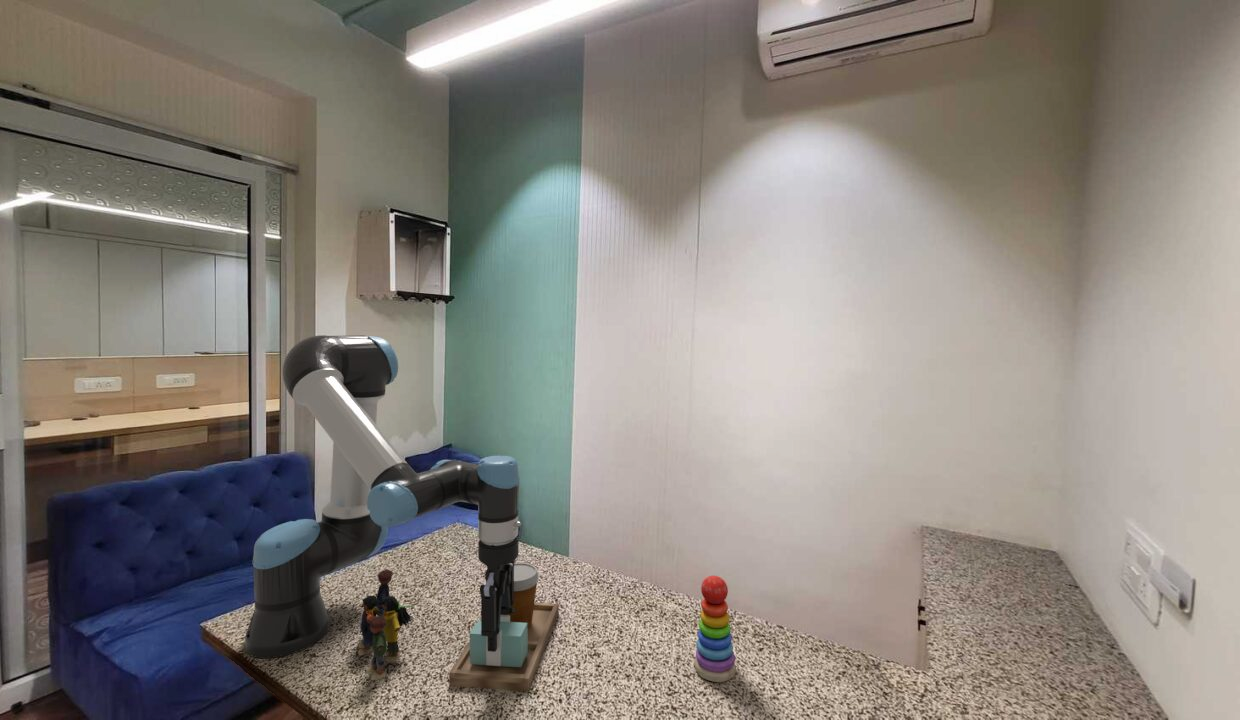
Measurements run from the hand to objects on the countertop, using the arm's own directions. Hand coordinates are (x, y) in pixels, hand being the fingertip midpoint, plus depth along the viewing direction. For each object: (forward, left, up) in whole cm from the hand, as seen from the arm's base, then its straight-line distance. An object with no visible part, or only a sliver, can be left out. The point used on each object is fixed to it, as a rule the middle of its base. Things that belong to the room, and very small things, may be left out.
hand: (498, 655), depth 97 cm
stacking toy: (+42, +4, -3) cm, 42 cm away
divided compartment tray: (0, +7, -3) cm, 8 cm away
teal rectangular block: (0, 0, -1) cm, 1 cm away
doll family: (-26, +4, -3) cm, 27 cm away
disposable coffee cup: (0, +12, -1) cm, 12 cm away
